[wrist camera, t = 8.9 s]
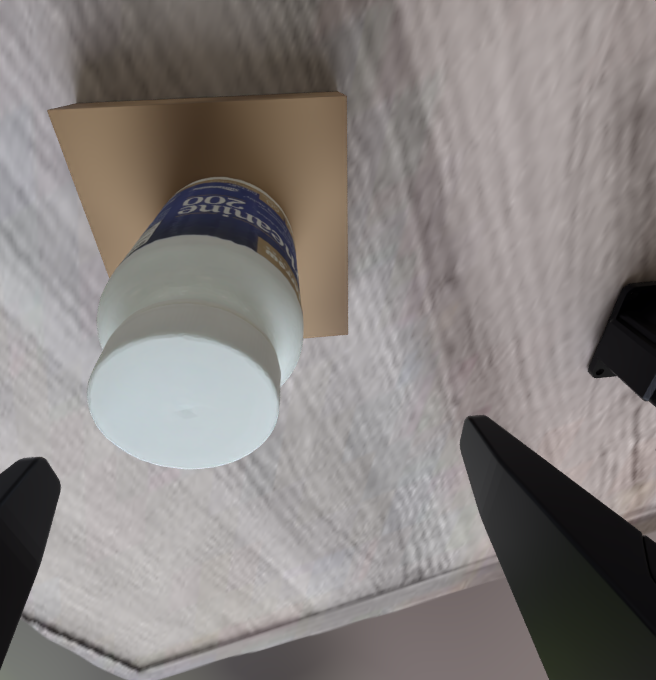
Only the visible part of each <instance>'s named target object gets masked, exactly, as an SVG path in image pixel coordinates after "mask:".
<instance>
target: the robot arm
mask: <svg viewBox="0 0 656 680" xmlns="http://www.w3.org/2000/svg"><path fill="white" fill-rule="evenodd" d="M588 372H589V374H590V375H591V376H592V377H594V378H603V377H613V376H618V377H619V378H620V379H621V380H622V381H623V382H624V383H625V384H626V385H627V386H628V387H629V388H631V389H632V390H633V391H634V392H635V393H636V394H637V395H638V396H639V397H640V398H641V399H642V400H644V401H649V402H650V403H652V404H653V405H654V406H655V407H656V282H644V283H632V284H629V285H627V286H625V287H624V288H623V289H622V291H621V293H620V295H619V297H618V300H617V302H616V304H615V307H614V309H613V312H612V314H611V316H610V319H609V321H608V323H607V326H606V328H605V331H604V333H603V335H602V338H601V340H600V342H599V345H598V347H597V350H596V352H595V354H594V357H593V359H592V361H591V364H590V366H589V368H588ZM460 450H461V454H462V457H463V460H464V464H465V467H466V470H467V474H468V477H469V480H470V484H471V487H472V490H473V494H474V497H475V500H476V504H477V507H478V510H479V513H480V516H481V519H482V521H483V524H484V526H485V529H486V531H487V534H488V536H489V538H490V541H491V543H492V545H493V548H494V550H495V553H496V555H497V557H498V560H499V562H500V564H501V567H502V569H503V572H504V574H505V576H506V579H507V581H508V583H509V586H510V588H511V590H512V593H513V595H514V597H515V600H516V602H517V605H518V607H519V609H520V611H521V614H522V616H523V619H524V621H525V624H526V626H527V628H528V631H529V633H530V635H531V638H532V640H533V643H534V645H535V647H536V650H537V652H538V654H539V657H540V659H541V661H542V664H543V666H544V669H545V671H546V673H547V676H548V678H549V680H656V543H655V542H654V541H652V540H651V539H650V538H649V537H647V536H645V535H644V536H642V533H641V532H640V531H639V530H638V529H636V528H635V527H634V526H632V525H631V524H630V523H628V522H627V521H626V520H624V519H623V518H622V517H620V516H619V515H618V514H616V513H615V512H614V511H612V510H611V509H610V508H608V507H607V506H606V505H604V504H603V503H602V502H600V501H599V500H598V499H596V498H595V497H594V496H593V495H591V494H590V493H589V492H587V491H586V490H585V489H583V488H582V487H581V486H579V485H578V484H577V483H575V482H574V481H573V480H571V479H570V478H569V477H567V476H566V475H565V474H563V473H562V472H561V471H559V470H558V469H557V468H555V467H554V466H553V465H551V464H550V463H549V462H547V461H546V460H545V459H543V458H542V457H541V456H539V455H538V454H537V453H535V452H534V451H533V450H531V449H530V448H529V447H527V446H526V445H525V444H523V443H522V442H521V441H519V440H518V439H517V438H515V437H514V436H513V435H511V434H510V433H509V432H507V431H506V430H505V429H503V428H502V427H501V426H499V425H498V424H497V423H495V422H494V421H493V420H491V419H490V418H489V417H487V416H485V415H476V416H468V417H467V418H466V419H465V421H464V426H463V430H462V435H461V439H460ZM60 490H61V485H60V481H59V479H58V477H57V475H56V474H55V472H54V471H53V469H52V468H51V466H50V465H49V463H48V461H47V460H46V459H45V458H43V457H31V458H23V459H20V460H18V461H17V462H15V463H14V464H13V465H11V466H10V467H9V468H7V469H6V470H5V471H3V472H2V473H1V474H0V669H1V666H2V664H3V661H4V658H5V656H6V653H7V651H8V648H9V646H10V643H11V640H12V638H13V635H14V632H15V630H16V627H17V625H18V622H19V620H20V617H21V614H22V612H23V609H24V607H25V604H26V601H27V599H28V596H29V594H30V591H31V588H32V586H33V583H34V580H35V578H36V575H37V572H38V569H39V567H40V564H41V561H42V557H43V554H44V551H45V547H46V543H47V539H48V536H49V532H50V528H51V525H52V521H53V517H54V514H55V510H56V506H57V502H58V499H59V495H60Z"/></svg>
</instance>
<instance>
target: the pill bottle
mask: <svg viewBox="0 0 656 680" xmlns="http://www.w3.org/2000/svg"><path fill="white" fill-rule="evenodd" d="M303 328H304V325H303V311H302V306H301V298H300V287H299V276H298V269H297V259H296V249H295V242H294V237H293V232H292V229H291V226H290V223H289V221H288V219H287V217H286V215H285V213H284V212H283V210H282V209H281V207H280V206H279V205H278V204H277V203H276V202H275V201H274V200H273V199H272V198H271V197H270V196H269V195H268V194H267V193H265V192H264V191H263V190H261V189H260V188H258V187H256V186H254V185H252V184H250V183H247V182H245V181H242V180H238V179H232V178H228V177H210V178H205V179H201V180H198V181H195V182H192V183H191V184H189V185H187V186H185V187H184V188H182V189H181V190H179V191H178V192H177V193H176V194H175V195H174V196H173V197H172V198H171V199H170V200H169V201H168V202H167V203H166V204H165V206H164V207H163V208H162V210H161V211H160V213H159V214H158V215H157V217H156V218H155V219H154V220H153V222H152V223H151V224H150V225H149V227H148V228H147V229H146V231H145V232H144V233H143V234H142V236H141V237H140V238H139V240H138V241H137V242H136V243H135V245H134V246H133V248H132V249H131V250H130V252H129V253H128V254H127V255H126V257H125V258H124V260H123V261H122V262H121V263H120V265H119V266H118V267H117V268H116V270H115V271H114V273H113V274H112V276H111V277H110V279H109V281H108V283H107V284H106V286H105V288H104V291H103V293H102V295H101V298H100V302H99V306H98V312H97V330H98V337H99V341H100V344H101V347H102V350H103V351H102V354H101V355H100V357H99V359H98V361H97V363H96V365H95V367H94V369H93V371H92V374H91V376H90V379H89V382H88V388H87V400H88V407H89V410H90V414H91V416H92V418H93V420H94V422H95V424H96V426H97V427H98V429H99V430H100V431H101V432H102V433H103V435H104V436H105V437H106V438H107V439H109V440H110V441H111V442H112V443H113V444H115V445H116V446H117V447H119V448H120V449H121V450H123V451H125V452H127V453H128V454H130V455H132V456H134V457H136V458H138V459H140V460H143V461H146V462H149V463H152V464H155V465H159V466H165V467H171V468H178V469H203V468H212V467H217V466H222V465H225V464H228V463H231V462H234V461H236V460H239V459H241V458H243V457H244V456H246V455H248V454H250V453H252V452H253V451H254V450H255V449H257V448H258V447H259V446H260V445H262V444H263V443H264V441H265V440H266V439H267V438H268V437H269V435H270V434H271V432H272V431H273V429H274V427H275V425H276V423H277V419H278V414H279V406H280V387H281V386H282V385H283V383H284V382H285V381H286V380H287V379H288V378H289V376H290V375H291V373H292V372H293V370H294V368H295V366H296V365H297V362H298V360H299V357H300V353H301V349H302V344H303Z"/></svg>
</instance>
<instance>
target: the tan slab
mask: <svg viewBox="0 0 656 680" xmlns="http://www.w3.org/2000/svg"><path fill="white" fill-rule="evenodd" d="M47 111H48V114H49V117H50V119H51V122H52V125H53V128H54V130H55V133H56V136H57V138H58V141H59V144H60V146H61V149H62V152H63V155H64V157H65V160H66V163H67V165H68V168H69V171H70V173H71V176H72V179H73V181H74V184H75V187H76V190H77V192H78V195H79V198H80V200H81V203H82V206H83V208H84V211H85V214H86V217H87V219H88V222H89V225H90V227H91V230H92V233H93V235H94V238H95V241H96V243H97V246H98V249H99V252H100V254H101V257H102V260H103V262H104V265H105V268H106V270H107V273H108V276H109V279H110V277H111V276H112V274H113V273H114V271H115V270H116V268H117V267H118V266H119V265H120V263H121V262H122V261H123V260H124V258H125V257H126V255H127V254H128V253H129V252H130V250H131V249H132V248H133V246H134V245H135V243H136V242H137V241H138V240H139V238H140V237H141V236H142V234H143V233H144V232H145V231H146V229H147V228H148V227H149V225H150V224H151V223H152V222H153V220H154V219H155V218H156V217H157V215H158V214H159V213H160V211H161V210H162V208H163V207H164V206H165V204H166V203H167V202H168V201H169V200H170V199H171V198H172V197H173V196H174V195H175V194H176V193H177V192H178V191H179V190H181V189H182V188H184V187H185V186H187V185H189V184H191V183H192V182H195V181H198V180H201V179H205V178H210V177H228V178H232V179H238V180H242V181H245V182H247V183H250V184H252V185H254V186H256V187H258V188H260V189H261V190H263V191H264V192H265V193H267V194H268V195H269V196H270V197H271V198H272V199H273V200H274V201H275V202H276V203H277V204H278V205H279V206H280V207H281V209H282V210H283V212H284V213H285V215H286V217H287V219H288V221H289V223H290V226H291V229H292V232H293V237H294V242H295V249H296V259H297V269H298V276H299V287H300V298H301V306H302V311H303V325H304V328H303V338H314V337H326V336H337V335H348V234H347V96H346V95H344V94H342V93H340V92H338V91H335V92H313V93H292V94H270V95H248V96H226V97H205V98H183V99H161V100H140V101H118V102H96V103H76V104H71V105H67V106H63V107H58V108H54V109H50V110H47Z"/></svg>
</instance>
